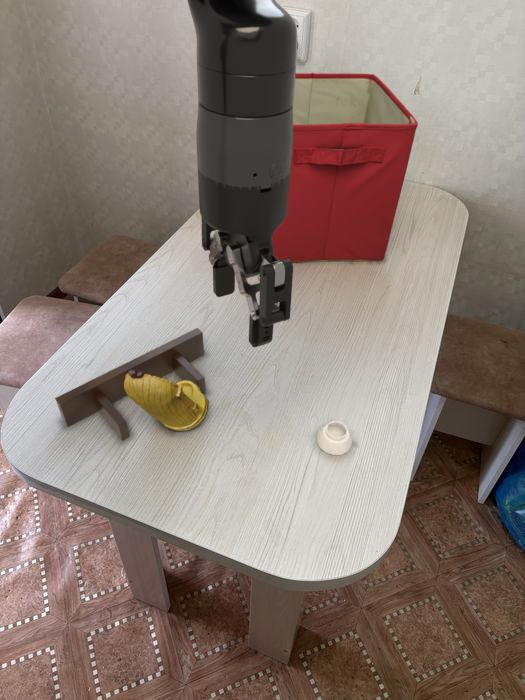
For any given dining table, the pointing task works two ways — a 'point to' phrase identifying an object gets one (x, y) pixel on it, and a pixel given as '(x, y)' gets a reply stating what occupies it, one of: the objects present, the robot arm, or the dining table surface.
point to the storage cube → (344, 168)
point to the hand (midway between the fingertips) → (241, 317)
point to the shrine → (168, 400)
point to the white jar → (334, 438)
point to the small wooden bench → (111, 384)
